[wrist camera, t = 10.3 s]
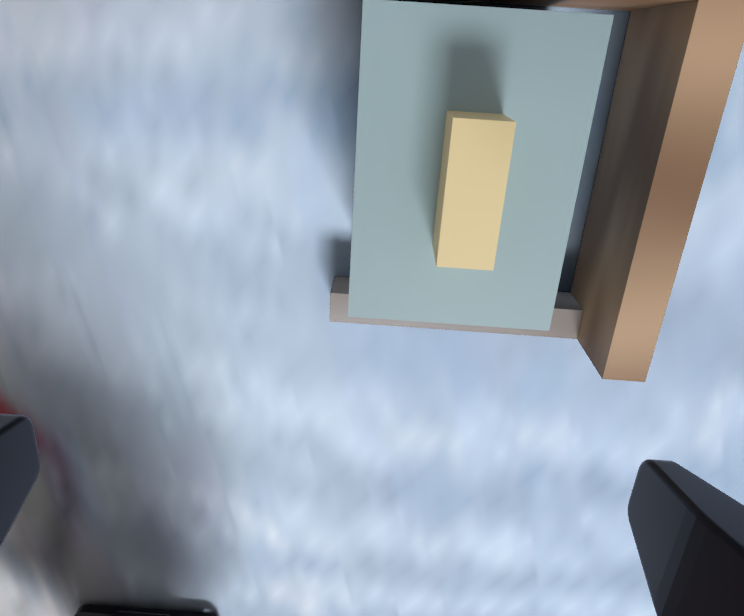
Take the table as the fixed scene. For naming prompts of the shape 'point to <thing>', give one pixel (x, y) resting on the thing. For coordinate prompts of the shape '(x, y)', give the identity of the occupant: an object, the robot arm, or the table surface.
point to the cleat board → (636, 180)
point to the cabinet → (469, 159)
